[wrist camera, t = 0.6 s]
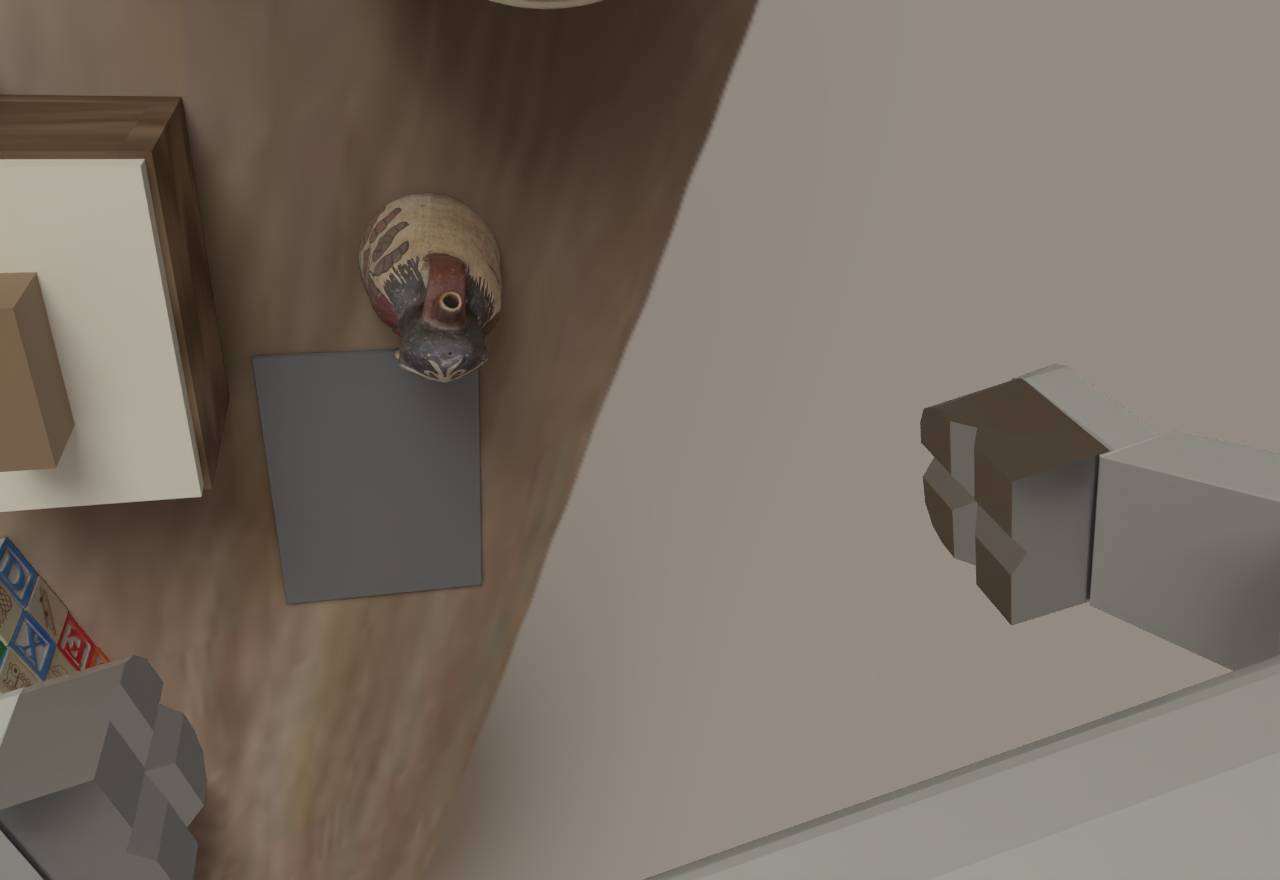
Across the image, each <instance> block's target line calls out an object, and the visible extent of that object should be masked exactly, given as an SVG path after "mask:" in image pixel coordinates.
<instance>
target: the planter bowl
mask: <svg viewBox="0 0 1280 880" xmlns="http://www.w3.org/2000/svg"><path fill="white" fill-rule="evenodd" d="M489 1H492V2H496V3H500V4H504V5H509V6H515V7H521V8H532V9H562V8H571V7H578V6H584V5H589V4H593V3H597V2H601V1H604V0H489Z"/></svg>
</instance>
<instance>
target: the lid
mask: <svg viewBox="0 0 1280 880" xmlns="http://www.w3.org/2000/svg"><path fill="white" fill-rule="evenodd" d="M203 487H204V482H203V477H202V471H201V466H200V460H199V455H198V449H197V444H196V438H195V433H194V427H193V422H192V416H191V411H190V405H189V400H188V394H187V389H186V383H185V378H184V373H183V367H182V362H181V356H180V351H179V345H178V340H177V334H176V329H175V323H174V318H173V312H172V307H171V301H170V296H169V290H168V285H167V279H166V274H165V268H164V263H163V257H162V252H161V246H160V241H159V235H158V230H157V224H156V219H155V214H154V208H153V203H152V197H151V192H150V186H149V181H148V175H147V170H146V164H145V159H0V512H7V511H20V510H33V509H46V508H60V507H73V506H86V505H99V504H113V503H126V502H139V501H152V500H166V499H179V498H192V497H202V492H203Z"/></svg>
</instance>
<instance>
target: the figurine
mask: <svg viewBox="0 0 1280 880" xmlns="http://www.w3.org/2000/svg"><path fill="white" fill-rule="evenodd" d="M359 268H360V273H361V278H362V282H363V285H364V288H365V290H366V292H367V294H368V296H369V298H370V301H371V304H372V306H373V309H374V310H375V312H376V314H377V315H378V317H379V318H380V319H381V321H382V322H383V323H384V324H385V325H386V326H387V327H388V328H389V329H391V330H392V331H393V332H395V333H396V334H397V335H399V336H400V337H401V340H400V349H398V350H397V351H396V352H395V353H394V355H395V357H396V358H398V359H399V365H400V368H402V369H404V370H406V371H408V372H410V373H413V374H416V375H418V376H421V377H424V378H426V379H429V380H432V381H436V382H443V383H445V382H451V381H454V380H457V379H459V378H461V377H463V376H465V375H467V374H468V373H470V372H472V371H473V370H475V369H477V368H478V367H480V366H481V365H483V364H484V363H485V362H486V361H487V360H488V358H489V354H488V351H487V349H486V347H485V343H484V338H483V337H485V336H486V335H487V334H489V333H490V332H491V330H492V329H493V327H494V326H495V325H496V323H497V322H498V320H499V316H500V311H501V307H502V303H503V299H502V275H501V265H500V252H499V249H498V246H497V244H496V241H495V238H494V236H493V234H492V232H491V230H490V229H489V227H488V226H487V224H486V223H485V222H484V220H483V219H482V218H481V217H480V216H479V215H478V214H477V213H476V212H474V211H473V210H472V209H471V208H470V207H469V206H468V205H466V204H464V203H462V202H460V201H458V200H456V199H454V198H452V197H451V196H447V195H441V194H434V193H422V194H411V195H407V196H405V197H402V198H400V199H397V200H395V201H393V202H391V203H389V204H388V205H386V206H385V207H383V208H382V209H380V210H379V211H378V212H377V214H376V215H375V216H374V218H373V219H372V220H371V222H370V223H369V224H368V226H367V228H366V230H365V232H364V235H363V237H362V240H361V244H360V251H359Z"/></svg>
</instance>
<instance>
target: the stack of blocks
mask: <svg viewBox="0 0 1280 880" xmlns="http://www.w3.org/2000/svg"><path fill="white" fill-rule="evenodd" d="M108 662H110V661H109V660H108V659H107V658H106V656H105V655H104V654H103V653H102V652H101V650H100V649H99V648H98V647H96V646H95V645H94V643H93V642H92V641H91V640H90V639H89V637H88V636H87V635H86V633H85V632H84V631H83V630H82V629H81V627H80V626H78V624H77V623H76V621H75V620H74V619H73V618H72V617H71V616H70V615H69V614H68V610H67V608H66V607H65V606H64V605H63V604H62V602H61V601H60V600H59V599H58V598H57V596H56V595H55V594H54V593H53V592H52V590H51V589H50V588H49V587H48V585H47V584H46V583H45V582H44V580H43V579H42V578H41V577H40V576H38V575H37V573H36V571H35V570H34V569H33V568H32V566H31V565H30V564H29V563H28V562H27V560H26V559H25V558H24V557H23V556H22V555H21V554H20V552H19V551H18V550H17V549H16V547H15V546H14V545H13V544H12V543H11V541H10V540H9V539H8V538H7V537H4V538H1V539H0V695H1V694H4V693H7V692H10V691H13V690H17V689H20V688H23V687H30V686H31V685H33V684H36V683H40V682H43V681H47V680H50V679H53V678H57V677H60V676H64V675H67V674H71V673H74V672H77V671H81V670H84V669H88V668H91V667H95V666H98V665H101V664H105V663H108Z"/></svg>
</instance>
